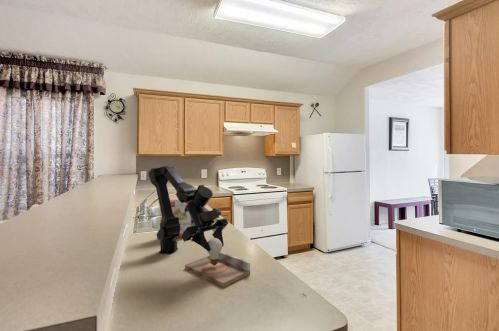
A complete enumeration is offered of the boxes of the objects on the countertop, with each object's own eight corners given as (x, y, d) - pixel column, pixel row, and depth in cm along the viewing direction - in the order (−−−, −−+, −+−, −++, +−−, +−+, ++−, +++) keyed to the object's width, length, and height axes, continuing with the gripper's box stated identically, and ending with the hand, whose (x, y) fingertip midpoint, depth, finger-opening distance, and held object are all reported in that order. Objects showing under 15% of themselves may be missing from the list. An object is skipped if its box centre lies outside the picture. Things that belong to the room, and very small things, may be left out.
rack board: (185, 268, 99) (184, 257, 99) (211, 258, 109) (211, 248, 109) (223, 287, 84) (223, 274, 84) (250, 274, 94) (250, 262, 94)
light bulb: (204, 263, 97) (204, 237, 97) (219, 260, 100) (219, 235, 99) (208, 269, 92) (208, 242, 91) (224, 266, 94) (224, 239, 94)
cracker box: (164, 240, 133) (163, 200, 132) (162, 237, 138) (161, 198, 137) (191, 236, 139) (190, 198, 138) (188, 233, 145) (187, 196, 144)
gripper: (186, 205, 91) (205, 243, 84) (225, 198, 104) (245, 230, 97) (174, 223, 96) (191, 260, 89) (212, 214, 110) (230, 246, 103)
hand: (216, 248), depth 95 cm, fingers closed on light bulb, 6 cm apart
